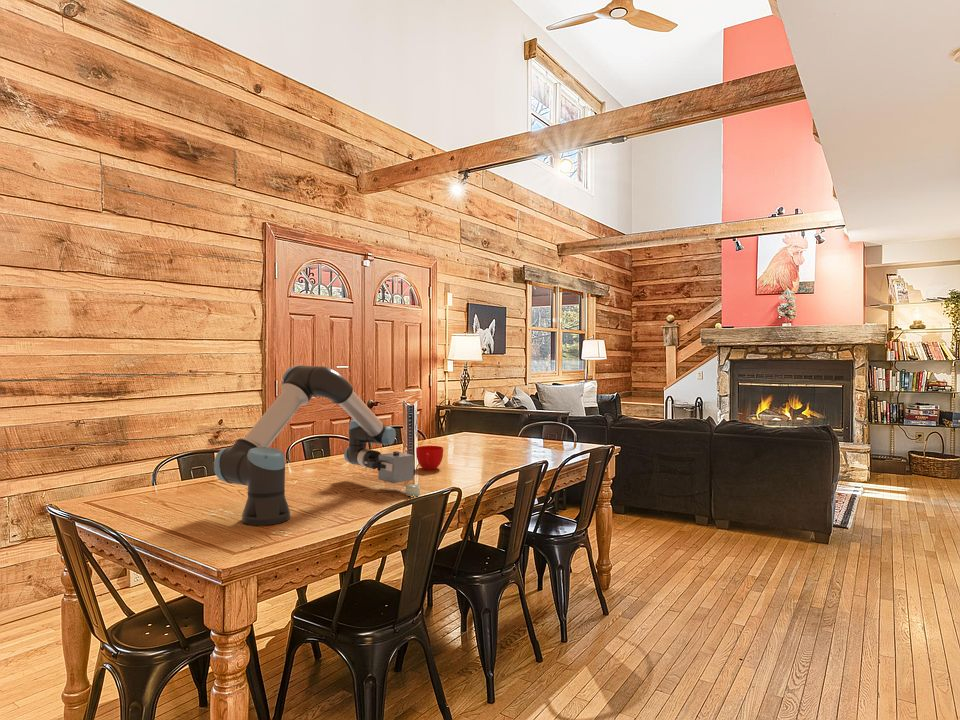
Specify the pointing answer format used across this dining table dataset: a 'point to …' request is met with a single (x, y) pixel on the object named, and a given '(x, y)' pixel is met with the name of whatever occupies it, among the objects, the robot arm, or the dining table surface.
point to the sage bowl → (412, 490)
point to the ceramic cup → (429, 456)
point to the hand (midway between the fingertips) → (402, 466)
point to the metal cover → (397, 467)
